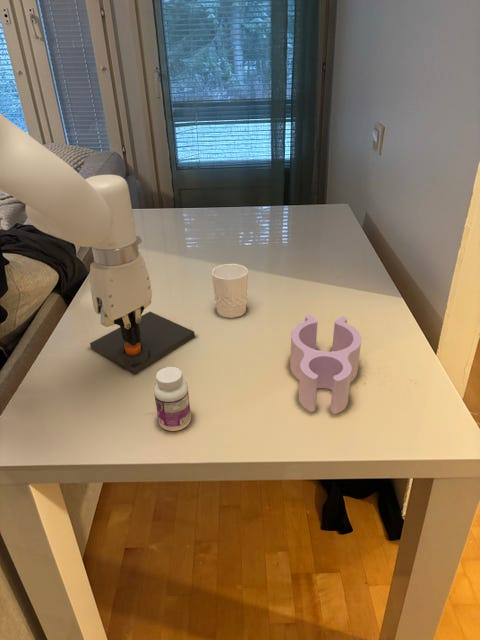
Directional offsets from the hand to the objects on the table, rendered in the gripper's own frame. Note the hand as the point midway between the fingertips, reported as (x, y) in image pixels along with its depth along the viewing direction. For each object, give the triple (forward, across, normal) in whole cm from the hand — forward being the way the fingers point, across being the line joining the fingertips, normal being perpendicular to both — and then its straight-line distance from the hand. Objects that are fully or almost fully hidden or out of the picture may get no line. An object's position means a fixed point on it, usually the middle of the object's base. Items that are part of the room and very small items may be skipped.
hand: (132, 341), depth 88 cm
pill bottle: (+5, +7, +18) cm, 20 cm away
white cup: (+5, -26, +2) cm, 27 cm away
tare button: (+2, 0, 0) cm, 2 cm away
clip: (+5, -18, +31) cm, 36 cm away
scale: (+5, -5, -4) cm, 8 cm away
